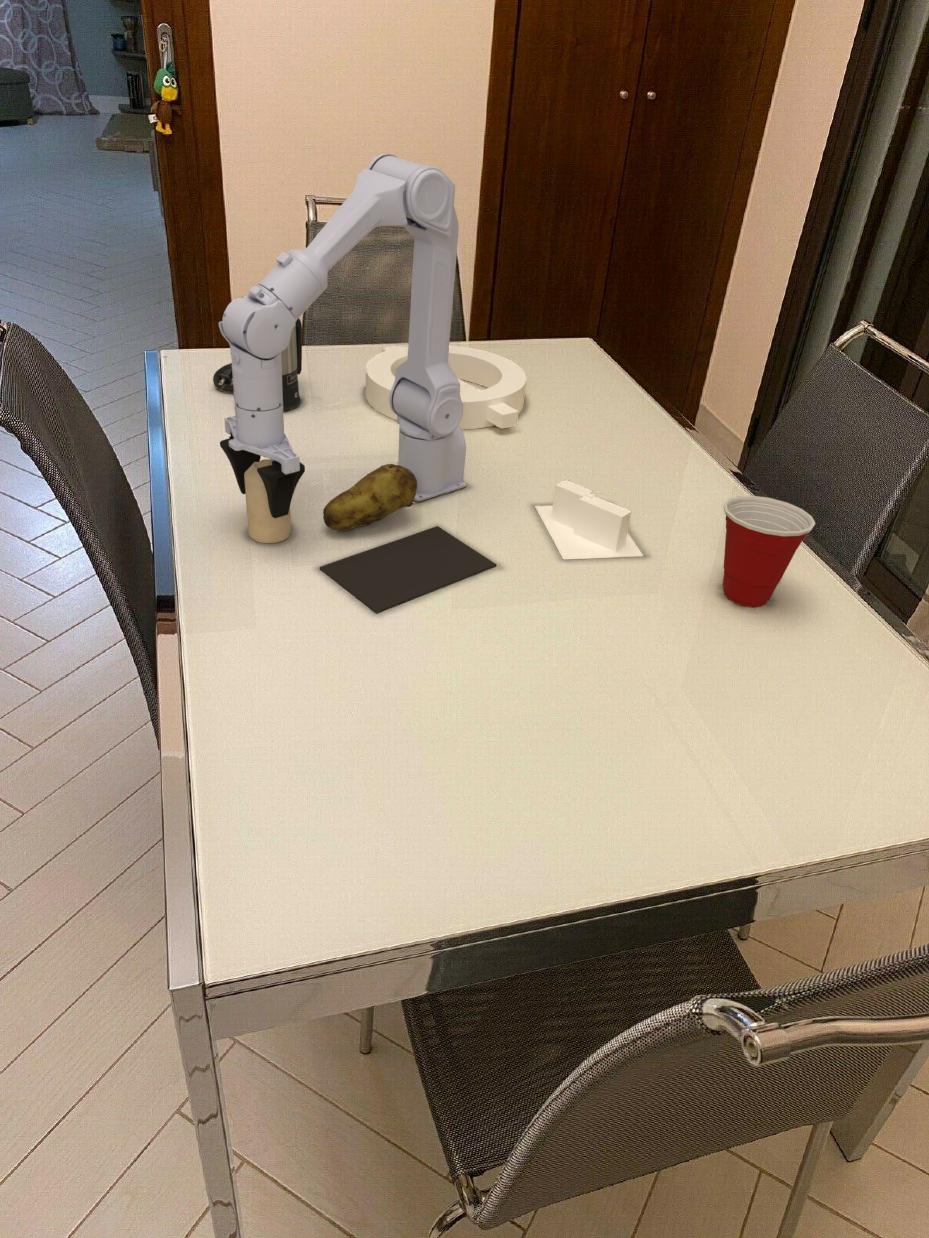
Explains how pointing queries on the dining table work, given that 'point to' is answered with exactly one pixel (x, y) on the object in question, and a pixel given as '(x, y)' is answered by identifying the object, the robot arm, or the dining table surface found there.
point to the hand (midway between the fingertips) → (264, 503)
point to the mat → (406, 568)
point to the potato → (371, 498)
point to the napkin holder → (587, 524)
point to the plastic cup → (760, 546)
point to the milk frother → (290, 370)
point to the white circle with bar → (467, 364)
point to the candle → (263, 509)
